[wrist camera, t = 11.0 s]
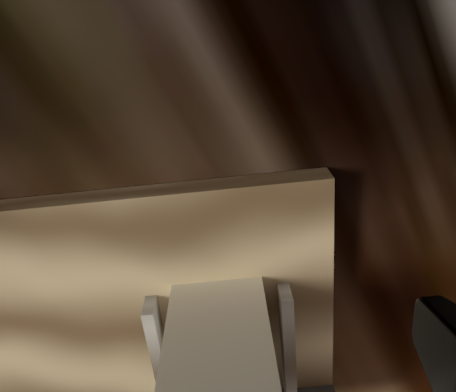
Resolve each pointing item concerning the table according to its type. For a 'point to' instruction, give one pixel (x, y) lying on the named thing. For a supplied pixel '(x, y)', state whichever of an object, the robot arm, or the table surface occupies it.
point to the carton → (218, 339)
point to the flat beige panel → (161, 276)
